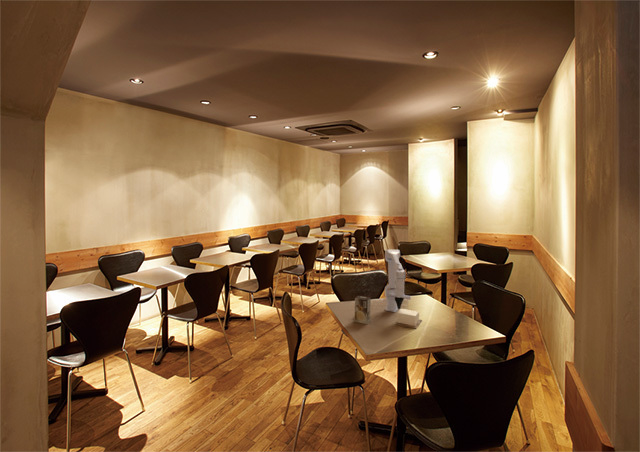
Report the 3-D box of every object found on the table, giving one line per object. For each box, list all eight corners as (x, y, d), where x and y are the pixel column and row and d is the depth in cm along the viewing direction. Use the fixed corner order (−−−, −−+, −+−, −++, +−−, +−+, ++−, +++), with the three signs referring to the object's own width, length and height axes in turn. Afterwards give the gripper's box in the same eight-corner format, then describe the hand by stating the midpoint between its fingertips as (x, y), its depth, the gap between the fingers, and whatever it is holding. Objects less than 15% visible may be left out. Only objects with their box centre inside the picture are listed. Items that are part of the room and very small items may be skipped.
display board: (404, 317, 228) (404, 316, 228) (421, 320, 222) (421, 320, 222) (397, 325, 214) (397, 324, 214) (415, 329, 208) (415, 328, 208)
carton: (401, 308, 225) (419, 311, 219) (400, 317, 225) (418, 321, 219) (397, 312, 217) (415, 316, 211) (396, 322, 218) (415, 325, 212)
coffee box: (370, 321, 221) (371, 297, 219) (367, 324, 215) (367, 300, 213) (357, 318, 225) (358, 295, 223) (354, 321, 219) (354, 297, 218)
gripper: (387, 288, 220) (386, 308, 221) (408, 291, 213) (408, 312, 214) (390, 285, 226) (390, 305, 227) (412, 288, 219) (411, 309, 220)
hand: (399, 308), depth 221 cm, fingers closed
